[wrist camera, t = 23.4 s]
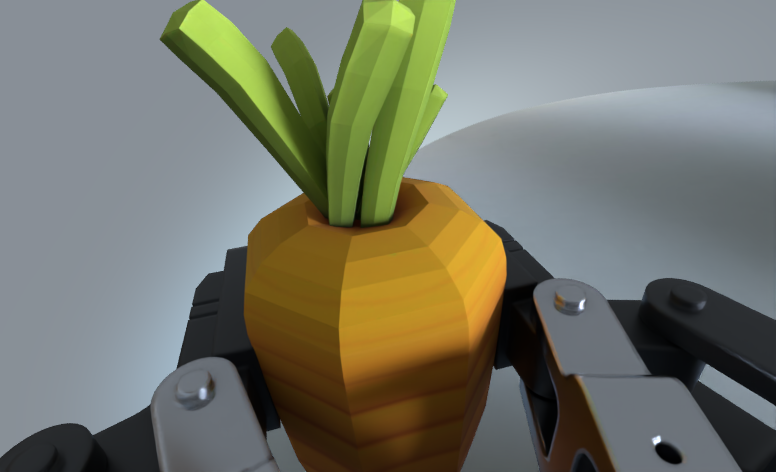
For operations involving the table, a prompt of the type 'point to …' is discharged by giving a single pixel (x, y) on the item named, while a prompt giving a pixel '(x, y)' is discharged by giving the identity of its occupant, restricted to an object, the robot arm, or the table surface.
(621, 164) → the table surface
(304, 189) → the carrot
